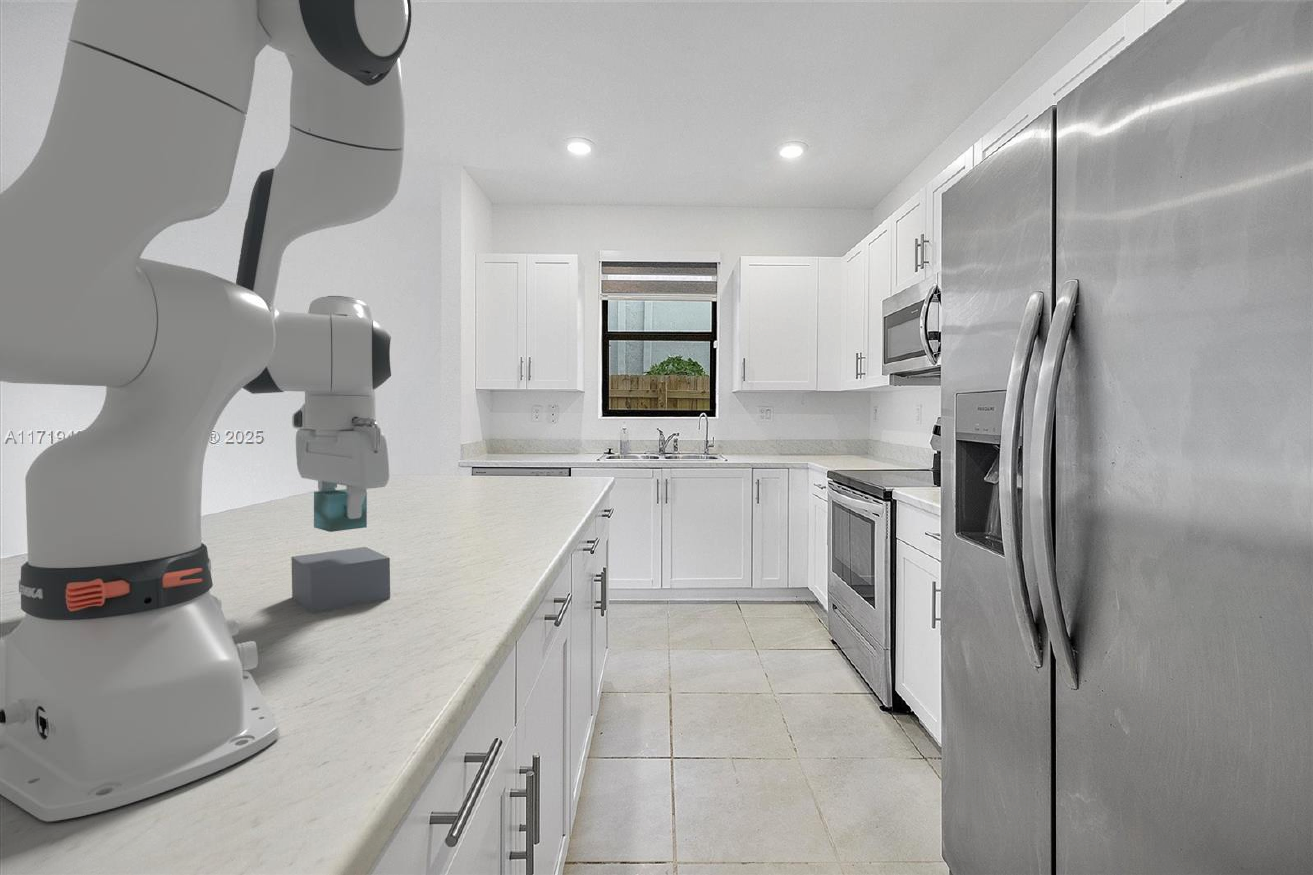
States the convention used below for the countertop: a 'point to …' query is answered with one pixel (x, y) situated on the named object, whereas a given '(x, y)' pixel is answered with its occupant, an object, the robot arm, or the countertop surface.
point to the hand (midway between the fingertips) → (341, 515)
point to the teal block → (336, 511)
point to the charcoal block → (340, 579)
